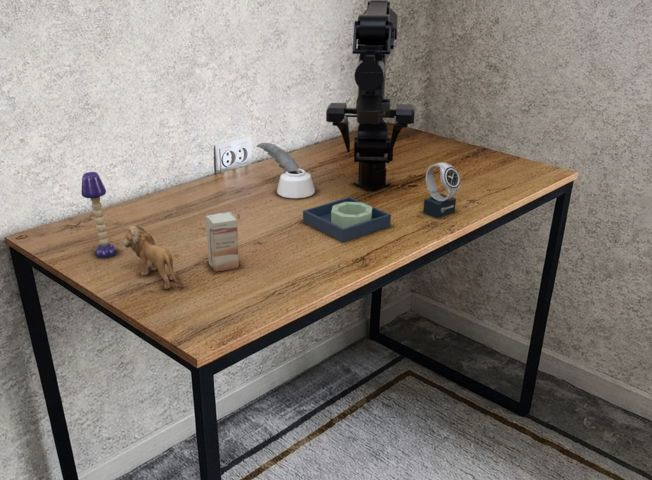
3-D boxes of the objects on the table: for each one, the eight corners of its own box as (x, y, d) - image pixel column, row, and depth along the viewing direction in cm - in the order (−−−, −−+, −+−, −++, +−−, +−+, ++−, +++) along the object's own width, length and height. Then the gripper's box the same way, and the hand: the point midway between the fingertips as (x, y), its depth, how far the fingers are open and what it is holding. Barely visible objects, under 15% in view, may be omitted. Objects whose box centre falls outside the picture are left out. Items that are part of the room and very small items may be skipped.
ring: (323, 221, 166) (323, 208, 165) (354, 211, 171) (354, 199, 169) (349, 233, 161) (349, 220, 159) (379, 223, 165) (380, 210, 163)
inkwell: (297, 202, 178) (296, 159, 172) (242, 185, 188) (240, 144, 183) (323, 191, 184) (323, 149, 178) (268, 175, 194) (267, 135, 189)
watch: (444, 220, 167) (448, 171, 161) (417, 210, 172) (420, 162, 166) (461, 214, 170) (466, 165, 164) (434, 204, 175) (438, 157, 169)
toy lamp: (104, 260, 152) (90, 179, 144) (87, 255, 155) (73, 175, 146) (121, 251, 156) (109, 171, 147) (104, 247, 158) (91, 168, 149)
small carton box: (215, 272, 147) (211, 223, 142) (208, 263, 150) (204, 215, 145) (240, 267, 149) (237, 218, 143) (233, 259, 152) (230, 210, 147)
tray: (302, 222, 167) (302, 210, 166) (349, 208, 174) (349, 196, 173) (342, 242, 158) (343, 230, 157) (390, 226, 165) (391, 214, 163)
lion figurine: (122, 271, 148) (115, 228, 143) (143, 262, 151) (138, 219, 147) (173, 293, 140) (168, 248, 135) (195, 283, 143) (190, 238, 139)
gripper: (323, 87, 156) (323, 163, 164) (415, 89, 153) (411, 165, 162) (329, 75, 165) (328, 147, 173) (416, 76, 163) (412, 149, 171)
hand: (369, 152), depth 170 cm, fingers open, 9 cm apart
